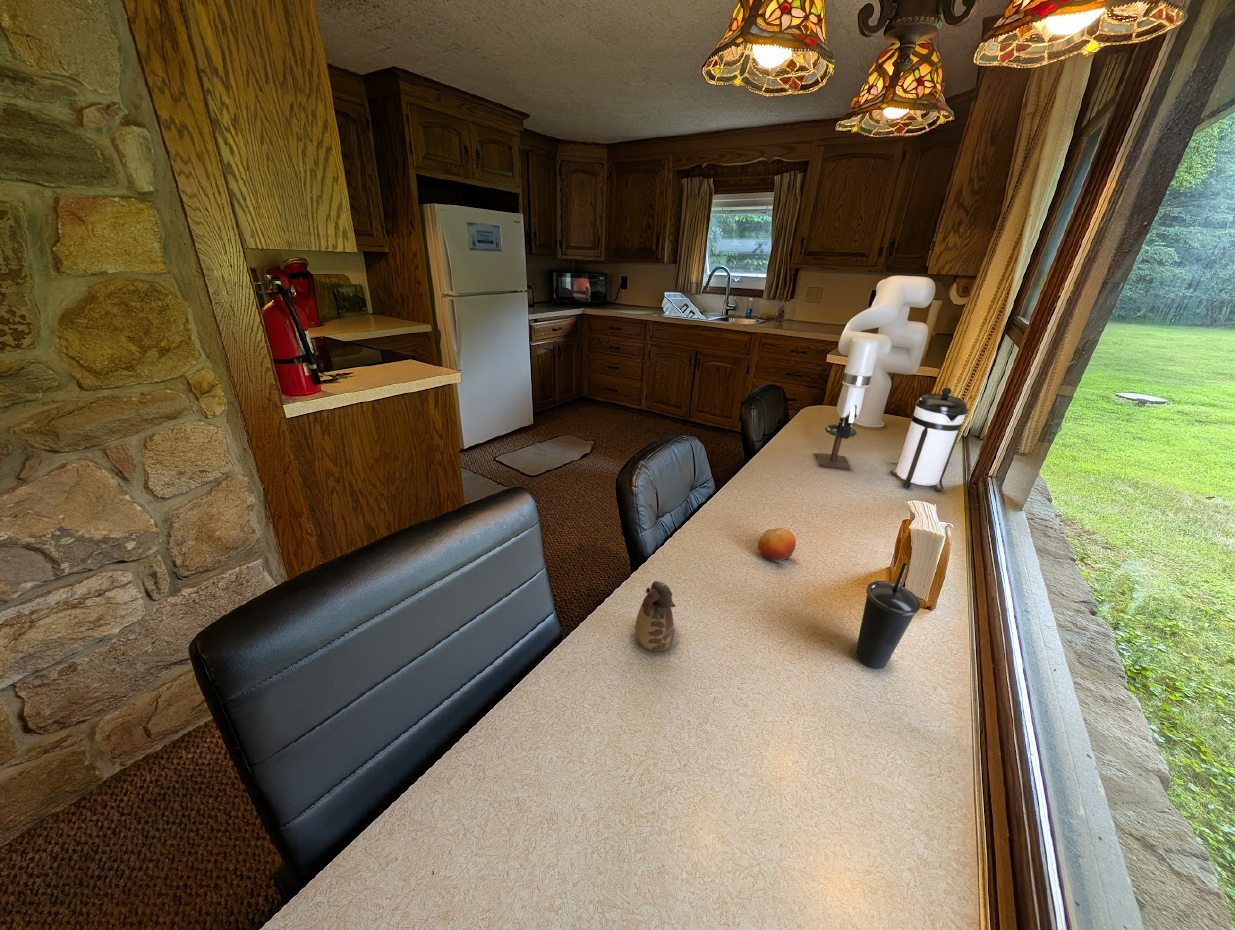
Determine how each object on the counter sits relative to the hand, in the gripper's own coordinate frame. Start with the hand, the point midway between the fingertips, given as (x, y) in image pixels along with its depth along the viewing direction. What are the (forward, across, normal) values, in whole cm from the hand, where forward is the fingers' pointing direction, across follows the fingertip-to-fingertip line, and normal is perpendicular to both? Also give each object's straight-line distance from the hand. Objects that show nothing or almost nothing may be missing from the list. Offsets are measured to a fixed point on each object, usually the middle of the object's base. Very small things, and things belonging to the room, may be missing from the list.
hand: (842, 436), depth 145 cm
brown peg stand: (+11, -4, 0) cm, 12 cm away
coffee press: (+11, +2, +22) cm, 25 cm away
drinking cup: (+11, +82, -6) cm, 83 cm away
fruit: (+11, +56, -21) cm, 61 cm away
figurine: (+11, +88, -43) cm, 99 cm away
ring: (0, -4, 0) cm, 4 cm away
